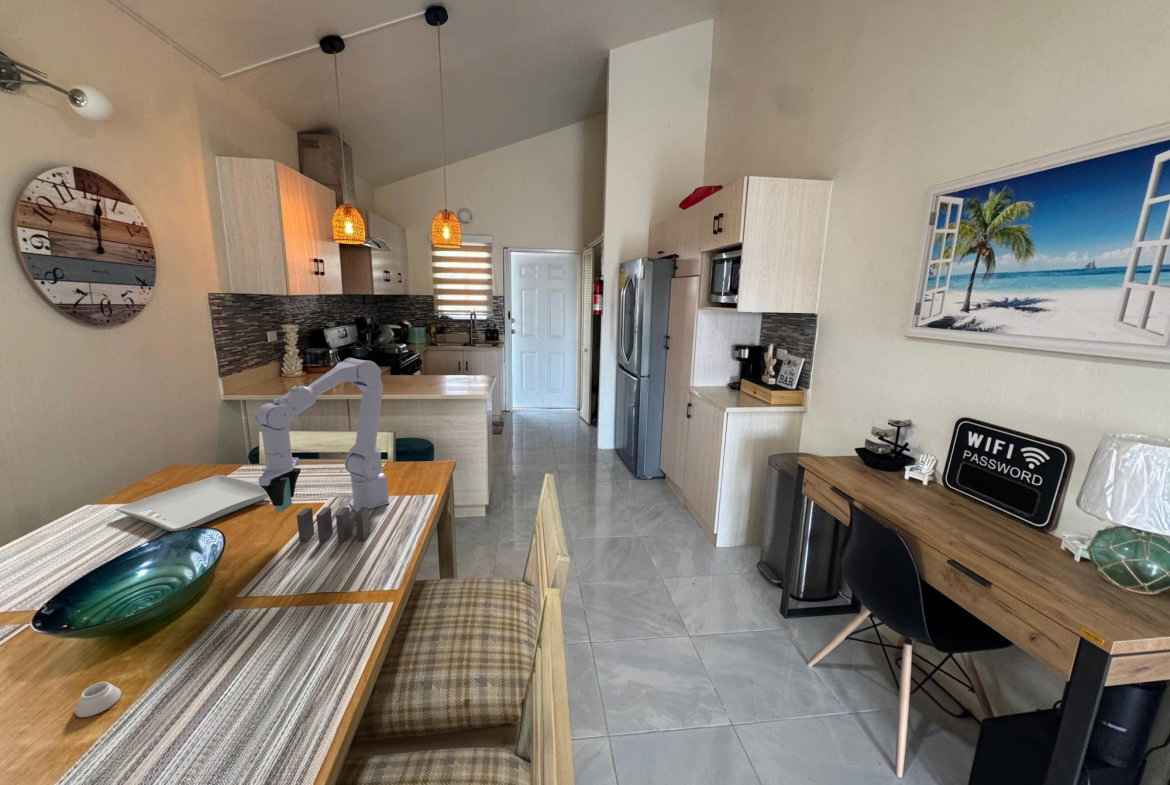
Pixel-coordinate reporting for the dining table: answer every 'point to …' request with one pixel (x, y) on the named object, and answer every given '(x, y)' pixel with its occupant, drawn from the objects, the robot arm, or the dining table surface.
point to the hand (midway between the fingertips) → (283, 501)
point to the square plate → (196, 502)
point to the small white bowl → (97, 699)
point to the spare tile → (285, 496)
